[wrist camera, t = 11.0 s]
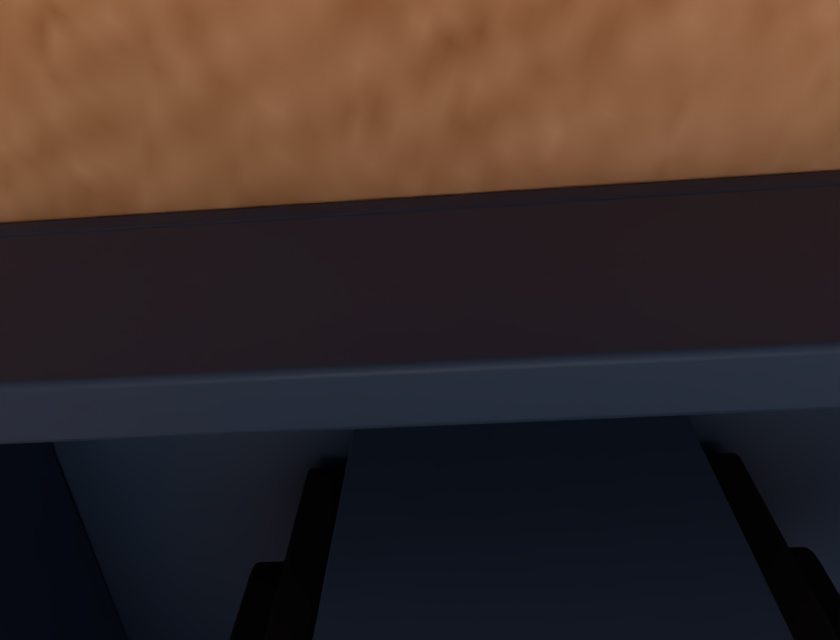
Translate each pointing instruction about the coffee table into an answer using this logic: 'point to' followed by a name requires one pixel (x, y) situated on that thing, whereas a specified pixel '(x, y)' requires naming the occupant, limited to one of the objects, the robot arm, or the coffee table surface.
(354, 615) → the blue block
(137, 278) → the blue bin
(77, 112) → the coffee table surface
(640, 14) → the coffee table surface
